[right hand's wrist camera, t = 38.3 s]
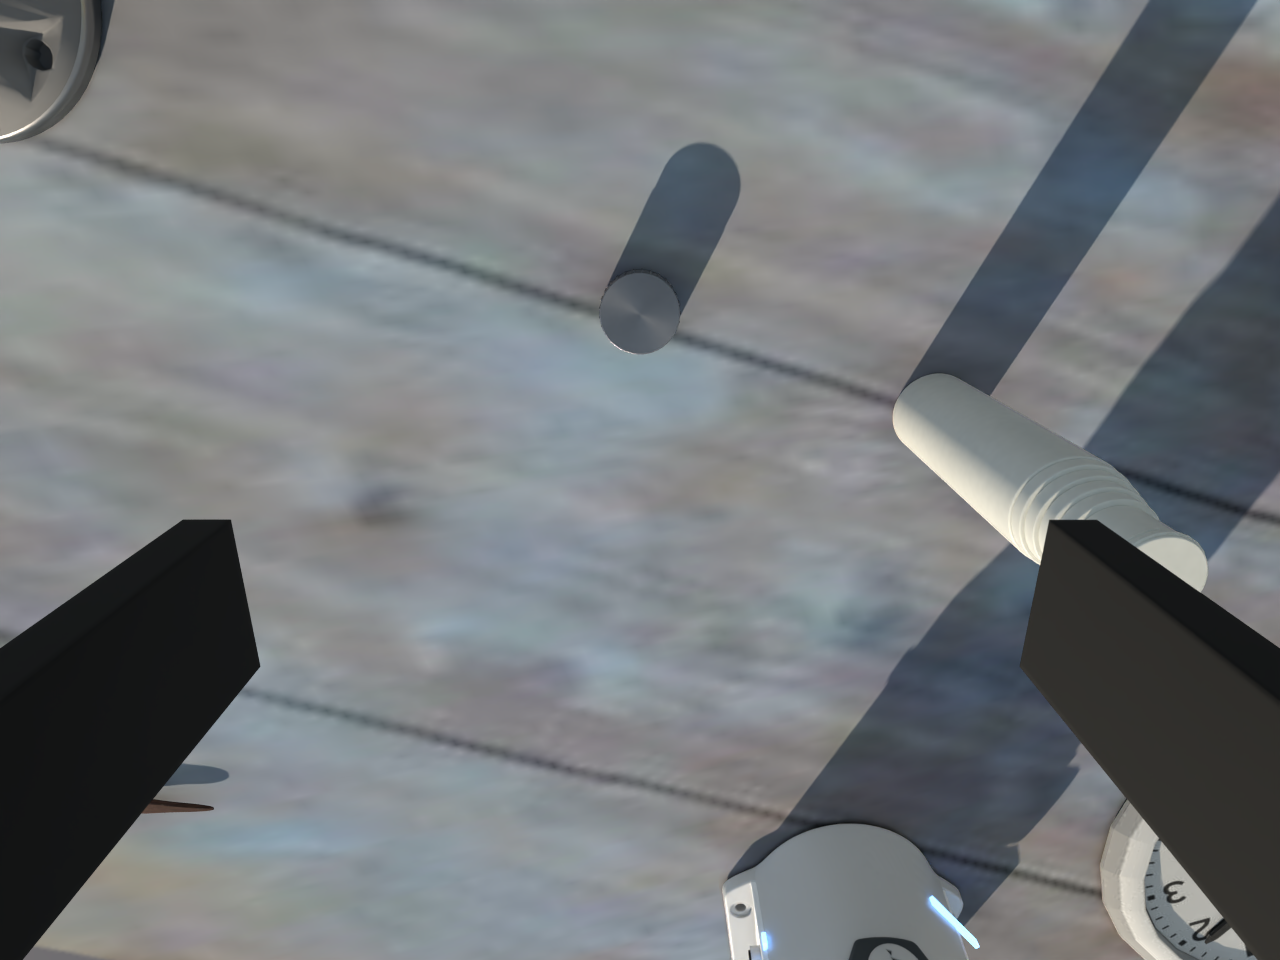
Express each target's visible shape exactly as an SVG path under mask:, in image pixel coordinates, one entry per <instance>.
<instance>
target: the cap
mask: <svg viewBox="0 0 1280 960" xmlns="http://www.w3.org/2000/svg"><path fill="white" fill-rule="evenodd" d="M679 305H680V303H679V300H677V294H676V292H674V290H673V287H672V285H670V284H669V283H668V282H667V280H666V278H665V279H664V278H663V277H662V276H660V275H659V273H658V274H656V273H654V272H651V270H650V271H648V270H643V269H641V270H634V269H633V270H632V271H628V272H626V271H625V272H624V273H623V274H621V275H620V276H617V277H616V279H614V280H613V281H611V282H610V285H609V286H608V288H606V289H605V291H604V296H602V298H601V305H600V307H599V310H600V316H599V318H600V322H601V327H602V329H603V331H604V333H605V335H606V336H607V338H608V339H609V340H610V341H611V342H612V343H613V344H614V345H615V346H616V347H618V348H619V349H621V350H623V351H625V352H628V353H632V354H648V353H651V352H654V351H657V350H659V349H660V348H662V347H663V346H665V345H666V344H667V343H668V342H669V341H670V340H671V339H672V337H673V336H674V334H675V332H676V331H677V328H678V324H679V323H680V321H679V319H680V314H681V312H680V308H679Z"/></svg>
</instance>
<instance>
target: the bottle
mask: <svg viewBox="0 0 1280 960" xmlns="http://www.w3.org/2000/svg"><path fill="white" fill-rule="evenodd" d="M893 425H894V429H895V432H896V434H897V436H898V437H899V439H900V440H901V441H902V442H903V443H904V444H905V445H906V446H907V447H908V448H909V449H910V450H911V451H913V452H914V453H915V454H916V455H917V456H918V457H919V458H920V459H921V460H922V461H923V462H924V463H925V464H927V465H928V466H929V467H930V468H931V469H932V470H933V471H934V472H935V473H936V474H937V475H938V476H939V477H941V478H942V479H943V480H944V481H945V482H946V483H947V484H948V485H949V486H950V487H951V488H952V489H953V490H955V491H956V492H957V493H958V494H959V495H960V496H961V497H962V498H963V499H964V500H965V501H966V502H967V503H968V504H970V505H971V506H972V507H973V508H974V509H975V510H976V511H977V512H978V513H979V514H980V515H981V516H982V517H984V518H985V519H986V520H987V521H988V522H989V523H990V524H991V525H992V526H993V527H994V528H995V529H996V530H998V531H999V532H1000V533H1001V534H1002V535H1003V536H1004V537H1005V538H1006V539H1007V540H1008V541H1009V542H1010V543H1012V544H1013V545H1014V546H1015V547H1016V548H1017V549H1018V550H1019V551H1020V552H1021V553H1023V554H1024V555H1025V556H1026V557H1028V558H1030V559H1031V560H1033V561H1034V562H1036V563H1037V564H1039V565H1040V563H1041V558H1042V553H1043V548H1044V543H1045V538H1046V533H1047V528H1048V523H1049V520H1098V521H1100V522H1101V523H1102V524H1104V525H1105V526H1107V527H1108V528H1109V529H1111V530H1112V531H1114V532H1115V533H1117V534H1118V535H1119V536H1121V537H1122V538H1124V539H1125V540H1127V541H1128V542H1129V543H1131V544H1132V545H1134V546H1135V547H1136V548H1138V549H1139V550H1141V551H1142V552H1144V553H1145V554H1146V555H1148V556H1149V557H1151V558H1152V559H1154V560H1155V561H1156V562H1158V563H1159V564H1161V565H1162V566H1163V567H1165V568H1166V569H1168V570H1169V571H1171V572H1172V573H1173V574H1175V575H1176V576H1178V577H1179V578H1181V579H1182V580H1183V581H1185V582H1186V583H1188V584H1189V585H1190V586H1192V587H1193V588H1195V589H1196V590H1198V591H1199V592H1200V593H1201V591H1202V589H1203V588H1204V585H1205V583H1206V580H1207V576H1208V562H1207V559H1206V556H1205V552H1204V550H1203V549H1202V547H1201V546H1200V544H1199V543H1198V542H1197V541H1195V540H1194V539H1193V538H1191V537H1190V536H1189V535H1186V534H1183V533H1180V532H1177V531H1175V530H1173V529H1172V528H1170V527H1169V526H1167V525H1165V524H1164V523H1162V522H1161V521H1160V520H1159V518H1158V516H1157V514H1156V513H1155V512H1154V511H1153V510H1152V509H1151V508H1150V507H1149V506H1148V504H1147V503H1146V501H1145V500H1144V499H1143V498H1142V497H1141V496H1140V494H1139V493H1138V491H1137V490H1136V489H1135V488H1134V487H1133V486H1132V485H1131V483H1130V482H1129V481H1128V479H1127V478H1126V477H1125V476H1123V475H1122V474H1121V473H1119V472H1118V471H1117V470H1116V469H1115V468H1114V467H1113V466H1111V465H1110V464H1108V463H1107V462H1105V461H1103V460H1102V459H1100V458H1098V457H1096V456H1095V455H1093V454H1091V453H1089V452H1088V451H1086V450H1084V449H1082V448H1081V447H1079V446H1077V445H1075V444H1073V443H1072V442H1070V441H1068V440H1066V439H1065V438H1063V437H1061V436H1059V435H1058V434H1056V433H1054V432H1052V431H1050V430H1049V429H1047V428H1045V427H1043V426H1042V425H1040V424H1038V423H1036V422H1035V421H1033V420H1031V419H1029V418H1028V417H1026V416H1024V415H1022V414H1020V413H1019V412H1017V411H1015V410H1013V409H1012V408H1010V407H1008V406H1006V405H1005V404H1003V403H1001V402H999V401H998V400H996V399H994V398H992V397H990V396H989V395H987V394H985V393H983V392H982V391H980V390H978V389H976V388H975V387H973V386H971V385H969V384H967V383H966V382H964V381H962V380H960V379H959V378H957V377H955V376H952V375H949V374H942V373H937V374H930V375H926V376H923V377H921V378H919V379H917V380H915V381H914V382H912V383H911V384H910V385H908V386H907V387H906V388H905V389H904V390H903V392H902V393H901V394H900V396H899V398H898V399H897V401H896V404H895V407H894V411H893Z"/></svg>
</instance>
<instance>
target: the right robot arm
mask: <svg viewBox="0 0 1280 960" xmlns="http://www.w3.org/2000/svg"><path fill="white" fill-rule="evenodd" d="M101 21H102V16H101V2H100V0H0V143H9V142H15V141H20V140H23V139H27V138H30V137H32V136H35V135H37V134H40V133H42V132H43V131H45V130H47V129H49V128H50V127H52V126H53V125H55V124H56V123H57V122H59V121H60V120H61V119H63V118H64V117H65V116H66V115H67V114H68V113H69V112H70V111H71V110H72V108H73V107H74V106H75V105H76V103H77V102H78V101H79V100H80V98H81V96H82V95H83V93H84V91H85V90H86V88H87V86H88V84H89V81H90V79H91V77H92V74H93V71H94V68H95V65H96V62H97V58H98V53H99V48H100V40H101ZM259 667H260V662H259V657H258V652H257V647H256V642H255V637H254V633H253V628H252V623H251V618H250V613H249V608H248V603H247V598H246V593H245V588H244V583H243V578H242V573H241V568H240V563H239V558H238V553H237V548H236V543H235V538H234V533H233V528H232V523H231V520H182V521H180V522H179V523H178V524H176V525H175V526H173V527H172V528H171V529H169V530H168V531H166V532H165V533H163V534H162V535H161V536H159V537H158V538H156V539H155V540H153V541H152V542H151V543H149V544H148V545H146V546H145V547H144V548H142V549H141V550H139V551H138V552H136V553H135V554H134V555H132V556H131V557H129V558H128V559H126V560H125V561H124V562H122V563H121V564H119V565H118V566H117V567H115V568H114V569H112V570H111V571H109V572H108V573H107V574H105V575H104V576H102V577H101V578H99V579H98V580H97V581H95V582H94V583H92V584H91V585H90V586H88V587H87V588H85V589H84V590H82V591H81V592H80V593H78V594H77V595H75V596H74V597H73V598H71V599H70V600H68V601H67V602H65V603H64V604H63V605H61V606H60V607H58V608H57V609H55V610H54V611H53V612H51V613H50V614H48V615H47V616H46V617H44V618H43V619H41V620H40V621H38V622H37V623H36V624H34V625H33V626H31V627H30V628H28V629H27V630H26V631H24V632H23V633H21V634H20V635H19V636H17V637H16V638H14V639H13V640H11V641H10V642H9V643H7V644H6V645H4V646H3V647H1V648H0V960H23V959H24V957H25V956H26V955H27V954H28V953H29V951H30V950H31V949H32V948H33V946H34V945H35V944H36V943H37V941H38V940H39V939H40V938H41V936H42V935H43V934H44V933H45V932H46V930H47V929H48V928H49V927H50V925H51V924H52V923H53V922H54V920H55V919H56V918H57V917H58V915H59V914H60V913H61V912H62V911H63V909H64V908H65V907H66V906H67V904H68V903H69V902H70V901H71V899H72V898H73V897H74V896H75V895H76V893H77V892H78V891H79V890H80V888H81V887H82V886H83V885H84V883H85V882H86V881H87V880H88V878H89V877H90V876H91V875H92V874H93V872H94V871H95V870H96V869H97V867H98V866H99V865H100V864H101V862H102V861H103V860H104V859H105V858H106V856H107V855H108V854H109V853H110V851H111V850H112V849H113V848H114V846H115V845H116V844H117V843H118V841H119V840H120V839H121V838H122V837H123V835H124V834H125V833H126V832H127V830H128V829H129V828H130V827H131V825H132V824H133V823H134V822H135V820H136V819H137V818H138V817H139V816H140V814H141V813H142V812H143V811H144V809H145V808H146V807H147V806H148V804H149V803H150V802H151V801H152V800H153V798H154V797H155V796H156V795H157V793H158V792H159V791H160V790H161V788H162V787H163V786H164V785H165V783H166V782H167V781H168V780H169V779H170V777H171V776H172V775H173V774H174V772H175V771H176V770H177V769H178V767H179V766H180V765H181V764H182V763H183V761H184V760H185V759H186V758H187V756H188V755H189V754H190V753H191V751H192V750H193V749H194V748H195V746H196V745H197V744H198V743H199V742H200V740H201V739H202V738H203V737H204V735H205V734H206V733H207V732H208V730H209V729H210V728H211V727H212V725H213V724H214V723H215V722H216V721H217V719H218V718H219V717H220V716H221V714H222V713H223V712H224V711H225V709H226V708H227V707H228V706H229V705H230V703H231V702H232V701H233V700H234V698H235V697H236V696H237V695H238V693H239V692H240V691H241V690H242V688H243V687H244V686H245V685H246V684H247V682H248V681H249V680H250V679H251V677H252V676H253V675H254V674H255V672H256V671H257V670H258V669H259ZM1020 667H1021V669H1022V670H1023V671H1024V672H1025V674H1026V675H1027V676H1028V677H1029V679H1030V680H1031V681H1032V682H1033V684H1034V685H1035V686H1036V687H1037V688H1038V690H1039V691H1040V692H1041V693H1042V695H1043V696H1044V697H1045V698H1046V700H1047V701H1048V702H1049V703H1050V705H1051V706H1052V707H1053V708H1054V709H1055V711H1056V712H1057V713H1058V714H1059V716H1060V717H1061V718H1062V719H1063V721H1064V722H1065V723H1066V724H1067V725H1068V727H1069V728H1070V729H1071V730H1072V732H1073V733H1074V734H1075V735H1076V737H1077V738H1078V739H1079V740H1080V742H1081V743H1082V744H1083V745H1084V746H1085V748H1086V749H1087V750H1088V751H1089V753H1090V754H1091V755H1092V756H1093V758H1094V759H1095V760H1096V761H1097V763H1098V764H1099V765H1100V766H1101V767H1102V769H1103V770H1104V771H1105V772H1106V774H1107V775H1108V776H1109V777H1110V779H1111V780H1112V781H1113V782H1114V783H1115V785H1116V786H1117V787H1118V788H1119V790H1120V791H1121V792H1122V793H1123V795H1124V796H1125V797H1126V798H1127V800H1128V801H1129V802H1130V803H1131V804H1132V806H1133V807H1134V808H1135V809H1136V811H1137V812H1138V813H1139V814H1140V816H1141V817H1142V818H1143V819H1144V820H1145V822H1146V823H1147V824H1148V825H1149V827H1150V828H1151V829H1152V830H1153V832H1154V833H1155V834H1156V835H1157V837H1158V838H1159V839H1160V840H1161V841H1162V843H1163V844H1164V845H1165V846H1166V848H1167V849H1168V850H1169V851H1170V853H1171V854H1172V855H1173V856H1174V858H1175V859H1176V860H1177V861H1178V862H1179V864H1180V865H1181V866H1182V867H1183V869H1184V870H1185V871H1186V872H1187V874H1188V875H1189V876H1190V877H1191V878H1192V880H1193V881H1194V882H1195V883H1196V885H1197V886H1198V887H1199V888H1200V890H1201V891H1202V892H1203V893H1204V895H1205V896H1206V897H1207V898H1208V899H1209V901H1210V902H1211V903H1212V904H1213V906H1214V907H1215V908H1216V909H1217V911H1218V912H1219V913H1220V914H1221V915H1222V917H1223V918H1224V919H1225V920H1226V922H1227V923H1228V924H1229V925H1230V927H1231V928H1232V929H1233V930H1234V932H1235V933H1236V934H1237V935H1238V936H1239V938H1240V939H1241V940H1242V941H1243V943H1244V944H1245V945H1246V946H1247V948H1248V949H1249V950H1250V951H1251V953H1252V954H1253V955H1254V956H1255V957H1256V959H1257V960H1280V648H1279V647H1277V646H1276V645H1274V644H1273V643H1271V642H1270V641H1269V640H1267V639H1266V638H1264V637H1263V636H1261V635H1260V634H1259V633H1257V632H1256V631H1254V630H1253V629H1252V628H1250V627H1249V626H1247V625H1246V624H1244V623H1243V622H1242V621H1240V620H1239V619H1237V618H1236V617H1234V616H1233V615H1232V614H1230V613H1229V612H1227V611H1226V610H1225V609H1223V608H1222V607H1220V606H1219V605H1217V604H1216V603H1215V602H1213V601H1212V600H1210V599H1209V598H1207V597H1206V596H1205V595H1203V594H1202V593H1200V592H1199V591H1198V590H1196V589H1195V588H1193V587H1192V586H1190V585H1189V584H1188V583H1186V582H1185V581H1183V580H1182V579H1181V578H1179V577H1178V576H1176V575H1175V574H1173V573H1172V572H1171V571H1169V570H1168V569H1166V568H1165V567H1163V566H1162V565H1161V564H1159V563H1158V562H1156V561H1155V560H1154V559H1152V558H1151V557H1149V556H1148V555H1146V554H1145V553H1144V552H1142V551H1141V550H1139V549H1138V548H1136V547H1135V546H1134V545H1132V544H1131V543H1129V542H1128V541H1127V540H1125V539H1124V538H1122V537H1121V536H1119V535H1118V534H1117V533H1115V532H1114V531H1112V530H1111V529H1109V528H1108V527H1107V526H1105V525H1104V524H1102V523H1101V522H1100V521H1098V520H1049V523H1048V528H1047V533H1046V538H1045V543H1044V548H1043V553H1042V558H1041V563H1040V568H1039V573H1038V578H1037V583H1036V588H1035V593H1034V598H1033V603H1032V608H1031V613H1030V618H1029V623H1028V628H1027V633H1026V637H1025V642H1024V647H1023V652H1022V657H1021V662H1020Z"/></svg>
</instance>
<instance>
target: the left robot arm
mask: <svg viewBox="0 0 1280 960" xmlns="http://www.w3.org/2000/svg"><path fill="white" fill-rule="evenodd" d="M722 892H723V900H724V907H725V914H726V921H727V929H728V936H729V943H730V951H731V958H732V960H969V958H968V956H967V953H966V950H965V947H964V944H963V941H962V938H961V935H960V933H961V934H962V935H963V936H964V937H965V938H966V939H967V940H968V941H969V942H970V943H971V944H972V945H973V946H974V947H975V948H976V949H977V948H979V945H978V942H977V940H976V939H975V938H974V937H973V936H972V935H971V934H970V933H969V932H968V931H967V930H966V929H965V928H964V927H963V926H962V925H961V924H960V923H959V922H958V921H957V918H958V916H959V915H960V913H961V911H962V909H963V901H962V898H961V895H960V892H959V890H958V889H957V888H956V887H955V886H954V885H952V884H951V883H950V882H948V881H946V880H945V879H943V878H941V877H940V876H938V875H937V874H936V873H935V872H934V871H933V869H932V868H931V866H930V865H929V863H928V861H927V860H926V858H925V856H924V855H923V854H922V852H921V851H920V850H919V849H918V848H917V847H916V846H915V845H914V844H913V843H911V842H910V841H909V840H907V839H906V838H904V837H902V836H901V835H899V834H897V833H895V832H892V831H890V830H887V829H884V828H881V827H877V826H872V825H865V824H835V825H828V826H823V827H819V828H815V829H812V830H809V831H806V832H804V833H801V834H799V835H797V836H795V837H793V838H791V839H789V840H788V841H786V842H784V843H783V844H782V845H780V846H779V847H777V848H776V849H775V850H774V851H773V852H772V853H771V854H770V855H768V856H767V857H766V858H765V859H764V860H763V861H762V862H761V863H760V864H758V865H757V866H756V867H754V868H752V869H749V870H747V871H744V872H742V873H740V874H737V875H735V876H733V877H732V878H730V879H728V880H727V881H726V882H725V883H724V885H723V888H722ZM959 932H960V933H959Z"/></svg>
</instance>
